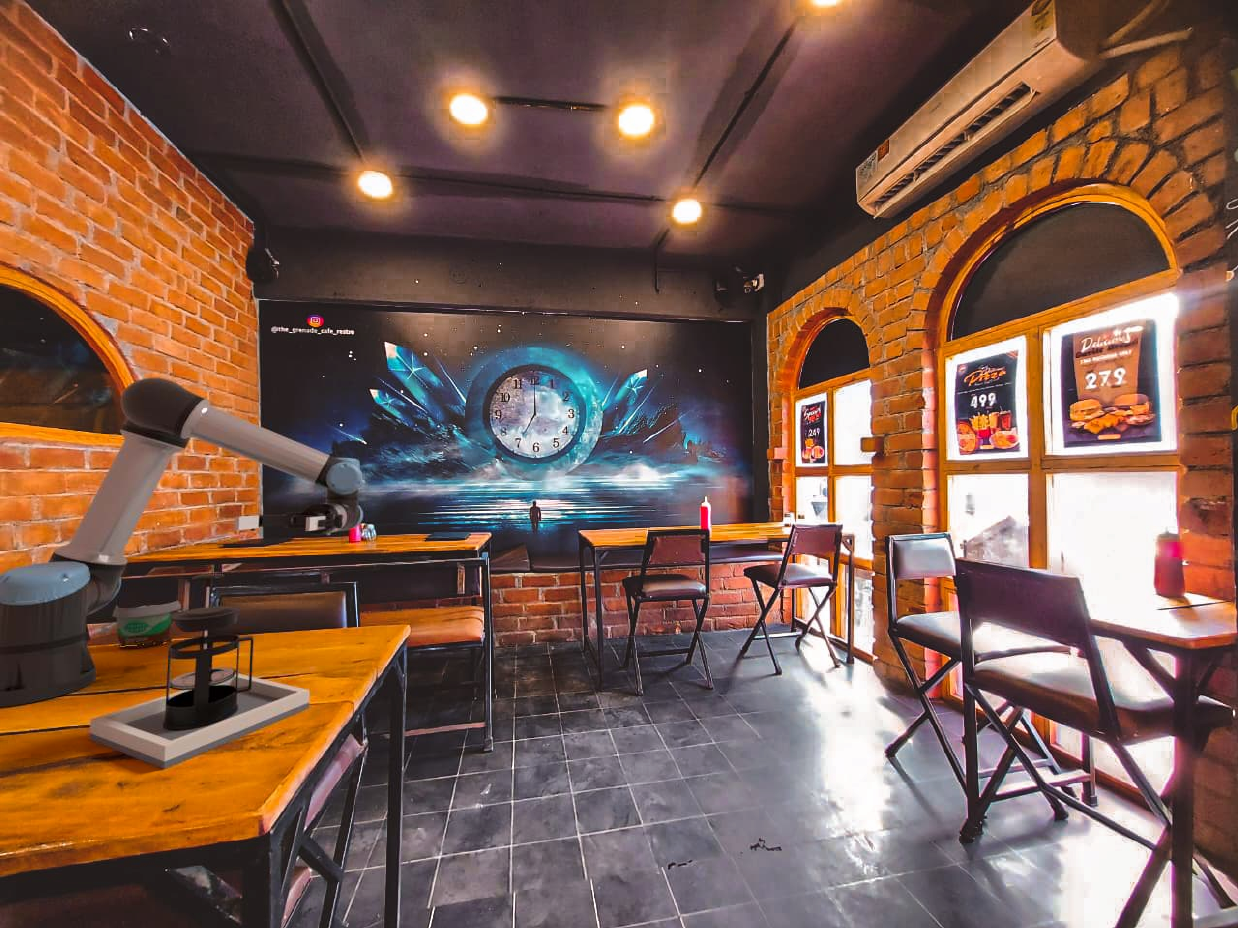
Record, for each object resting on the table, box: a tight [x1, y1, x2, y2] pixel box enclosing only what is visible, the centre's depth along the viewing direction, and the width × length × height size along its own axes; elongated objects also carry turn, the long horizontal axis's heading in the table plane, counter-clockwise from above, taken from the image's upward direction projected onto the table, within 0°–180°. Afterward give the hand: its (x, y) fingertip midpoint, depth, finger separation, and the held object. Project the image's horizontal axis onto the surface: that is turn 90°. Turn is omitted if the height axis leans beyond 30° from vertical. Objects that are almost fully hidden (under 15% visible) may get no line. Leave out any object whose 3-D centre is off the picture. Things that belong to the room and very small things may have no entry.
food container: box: [112, 599, 182, 651], centre depth 119 cm, size 12×6×10 cm, turn 123°
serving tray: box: [88, 673, 311, 770], centre depth 80 cm, size 20×20×3 cm
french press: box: [163, 573, 254, 730], centre depth 81 cm, size 12×9×23 cm
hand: (272, 523), depth 101 cm, fingers open, 13 cm apart
